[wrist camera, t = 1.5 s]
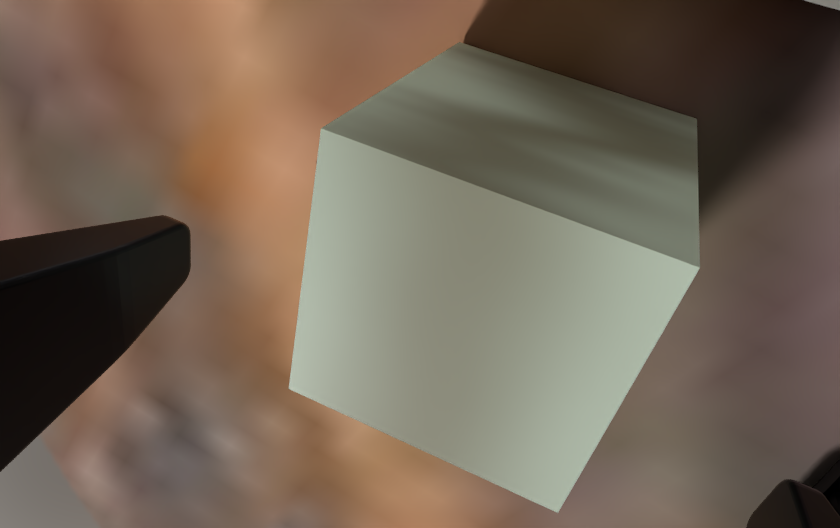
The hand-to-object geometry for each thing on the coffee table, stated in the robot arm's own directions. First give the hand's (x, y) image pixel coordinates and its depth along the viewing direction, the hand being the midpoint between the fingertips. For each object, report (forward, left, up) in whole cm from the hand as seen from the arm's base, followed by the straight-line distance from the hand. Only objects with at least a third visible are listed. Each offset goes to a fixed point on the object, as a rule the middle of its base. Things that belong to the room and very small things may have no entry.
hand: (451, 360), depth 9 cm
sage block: (0, 0, -6) cm, 6 cm away
